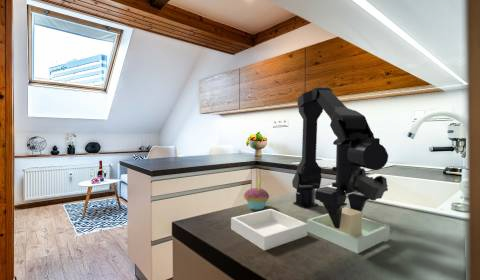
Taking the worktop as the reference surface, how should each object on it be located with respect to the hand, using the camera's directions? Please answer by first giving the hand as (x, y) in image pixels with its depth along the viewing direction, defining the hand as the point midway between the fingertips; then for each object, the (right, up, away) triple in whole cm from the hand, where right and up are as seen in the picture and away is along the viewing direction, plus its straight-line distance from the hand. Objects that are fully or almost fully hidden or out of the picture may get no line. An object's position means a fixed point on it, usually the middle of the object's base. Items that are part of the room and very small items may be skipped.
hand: (346, 224), depth 62 cm
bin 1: (-20, -3, +1) cm, 20 cm away
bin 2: (0, -3, 0) cm, 3 cm away
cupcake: (-22, -2, +22) cm, 31 cm away
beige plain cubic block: (0, -3, 0) cm, 3 cm away
